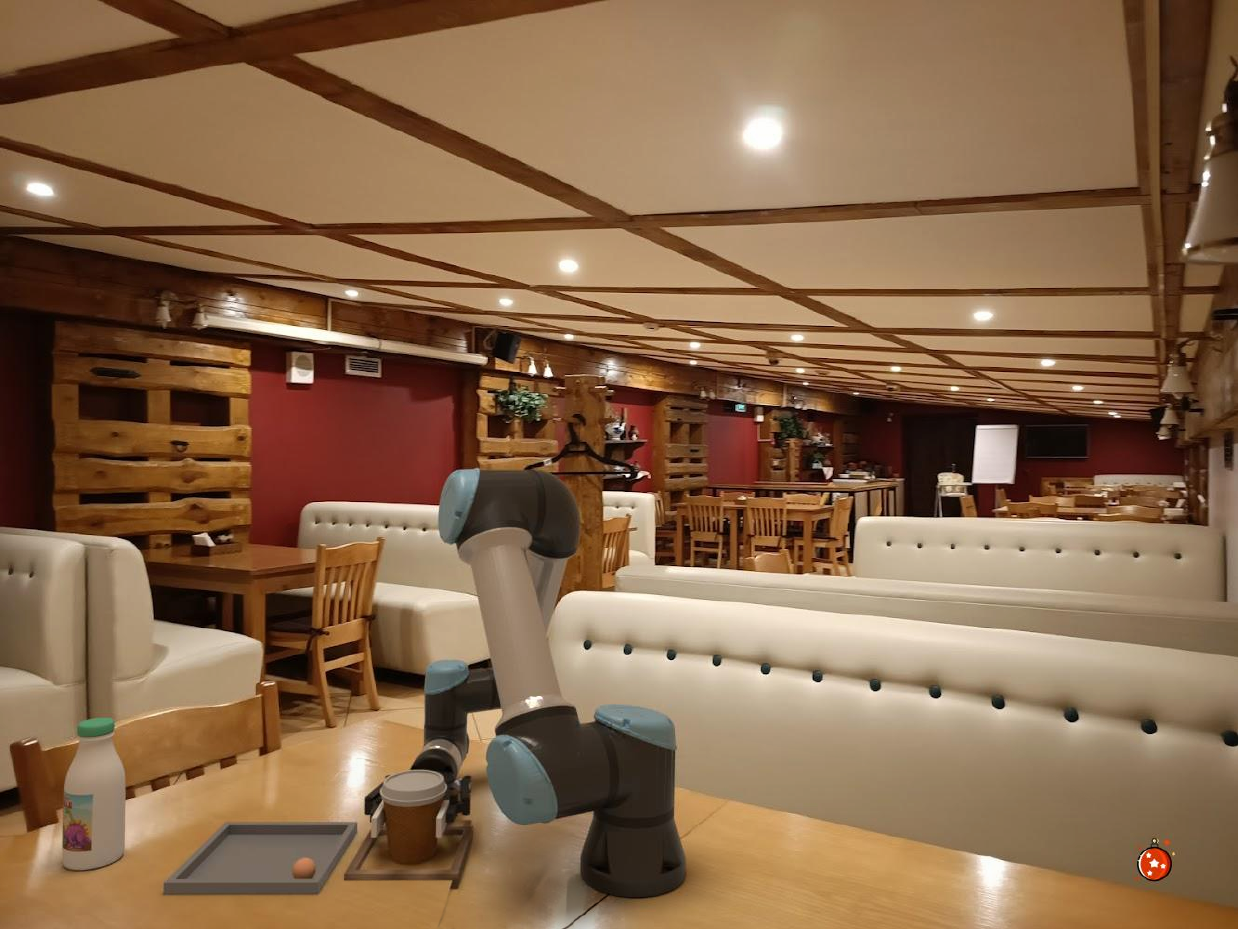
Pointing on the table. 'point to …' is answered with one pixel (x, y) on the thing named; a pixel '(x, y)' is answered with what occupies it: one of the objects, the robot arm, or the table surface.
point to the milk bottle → (94, 800)
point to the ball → (304, 869)
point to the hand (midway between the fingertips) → (406, 828)
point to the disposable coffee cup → (412, 814)
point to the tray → (262, 858)
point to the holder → (451, 874)
